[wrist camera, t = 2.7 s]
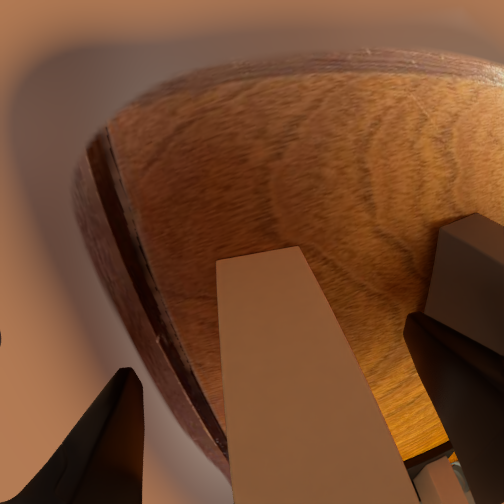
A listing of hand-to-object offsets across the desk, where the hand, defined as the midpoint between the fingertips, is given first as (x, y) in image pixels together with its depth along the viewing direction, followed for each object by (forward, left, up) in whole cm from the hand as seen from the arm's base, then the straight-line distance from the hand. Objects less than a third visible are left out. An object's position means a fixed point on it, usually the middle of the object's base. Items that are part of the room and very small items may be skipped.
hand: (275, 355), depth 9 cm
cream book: (0, 0, -2) cm, 2 cm away
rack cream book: (+15, -27, -1) cm, 30 cm away
